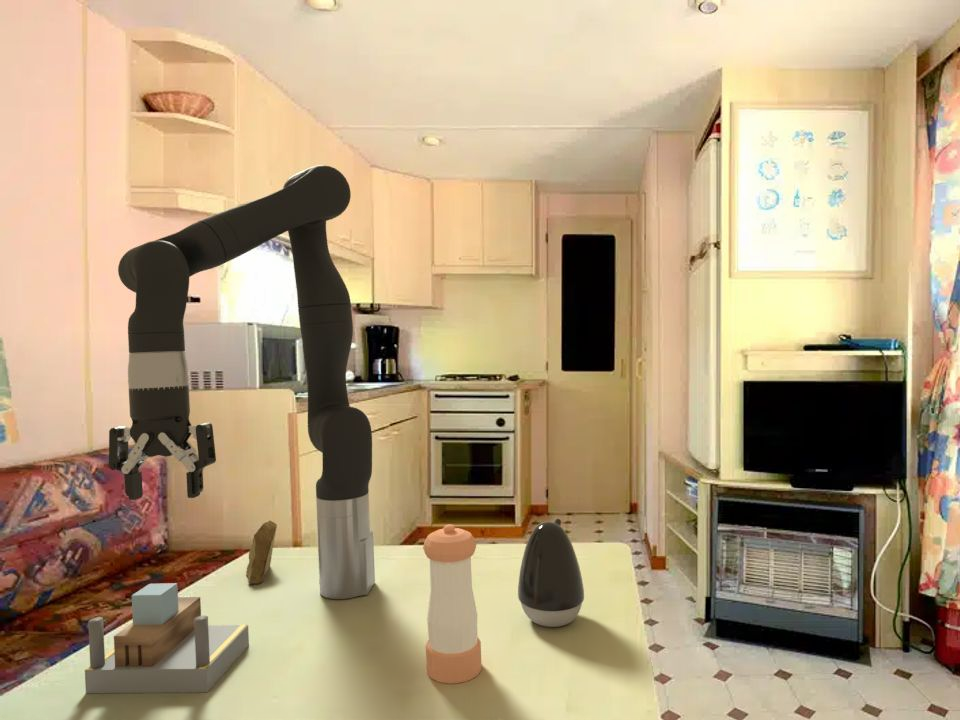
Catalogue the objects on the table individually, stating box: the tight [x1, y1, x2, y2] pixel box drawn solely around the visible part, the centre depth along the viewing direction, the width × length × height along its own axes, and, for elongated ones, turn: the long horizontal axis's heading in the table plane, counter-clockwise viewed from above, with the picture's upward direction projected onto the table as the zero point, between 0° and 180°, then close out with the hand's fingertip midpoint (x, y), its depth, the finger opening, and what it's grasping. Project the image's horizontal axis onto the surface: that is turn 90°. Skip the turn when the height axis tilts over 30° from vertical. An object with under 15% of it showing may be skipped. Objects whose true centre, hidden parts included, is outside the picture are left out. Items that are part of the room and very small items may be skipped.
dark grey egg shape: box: [517, 518, 585, 628], centre depth 92 cm, size 10×10×15 cm
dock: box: [84, 615, 250, 694], centre depth 81 cm, size 16×12×9 cm
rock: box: [245, 520, 278, 585], centre depth 115 cm, size 11×9×10 cm
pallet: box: [113, 596, 202, 667], centre depth 82 cm, size 12×5×4 cm, turn 177°
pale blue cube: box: [131, 582, 179, 625], centre depth 81 cm, size 4×4×4 cm
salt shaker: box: [422, 523, 483, 684], centre depth 78 cm, size 7×7×19 cm
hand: (164, 497), depth 84 cm, fingers open, 8 cm apart
